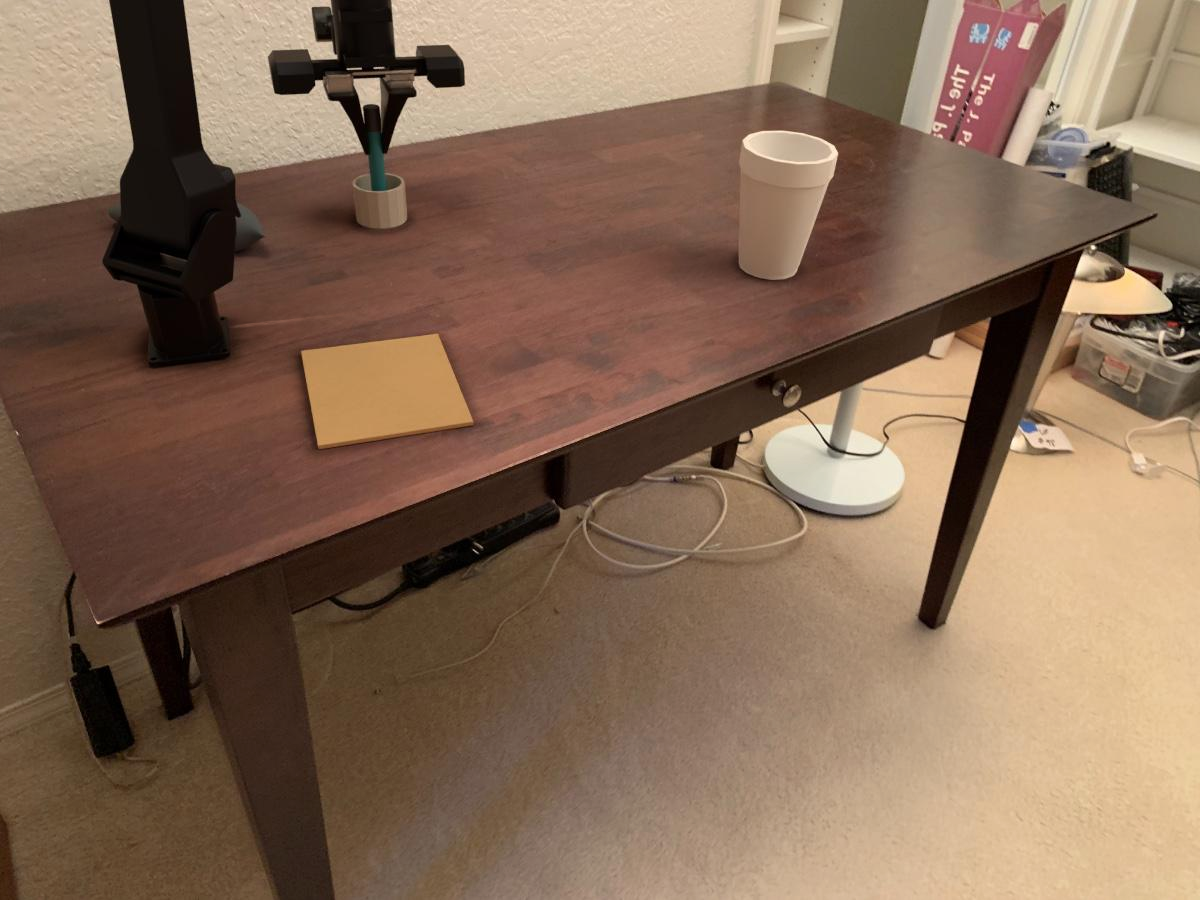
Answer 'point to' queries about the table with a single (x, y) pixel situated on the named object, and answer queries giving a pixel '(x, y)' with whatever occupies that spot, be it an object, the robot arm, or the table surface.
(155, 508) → the table surface
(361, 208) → the pot
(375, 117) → the pen
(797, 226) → the foam cup
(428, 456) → the table surface
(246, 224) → the dark grey fabric pouch
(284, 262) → the table surface
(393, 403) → the desk mat
